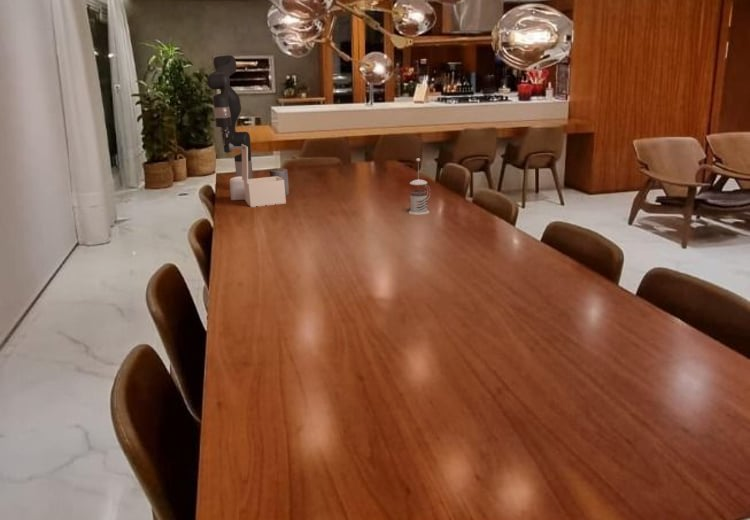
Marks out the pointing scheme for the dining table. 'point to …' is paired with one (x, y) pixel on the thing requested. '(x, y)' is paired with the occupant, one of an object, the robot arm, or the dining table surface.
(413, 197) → the french press
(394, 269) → the dining table surface
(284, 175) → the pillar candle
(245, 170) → the carton lid
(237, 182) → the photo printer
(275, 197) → the carton
